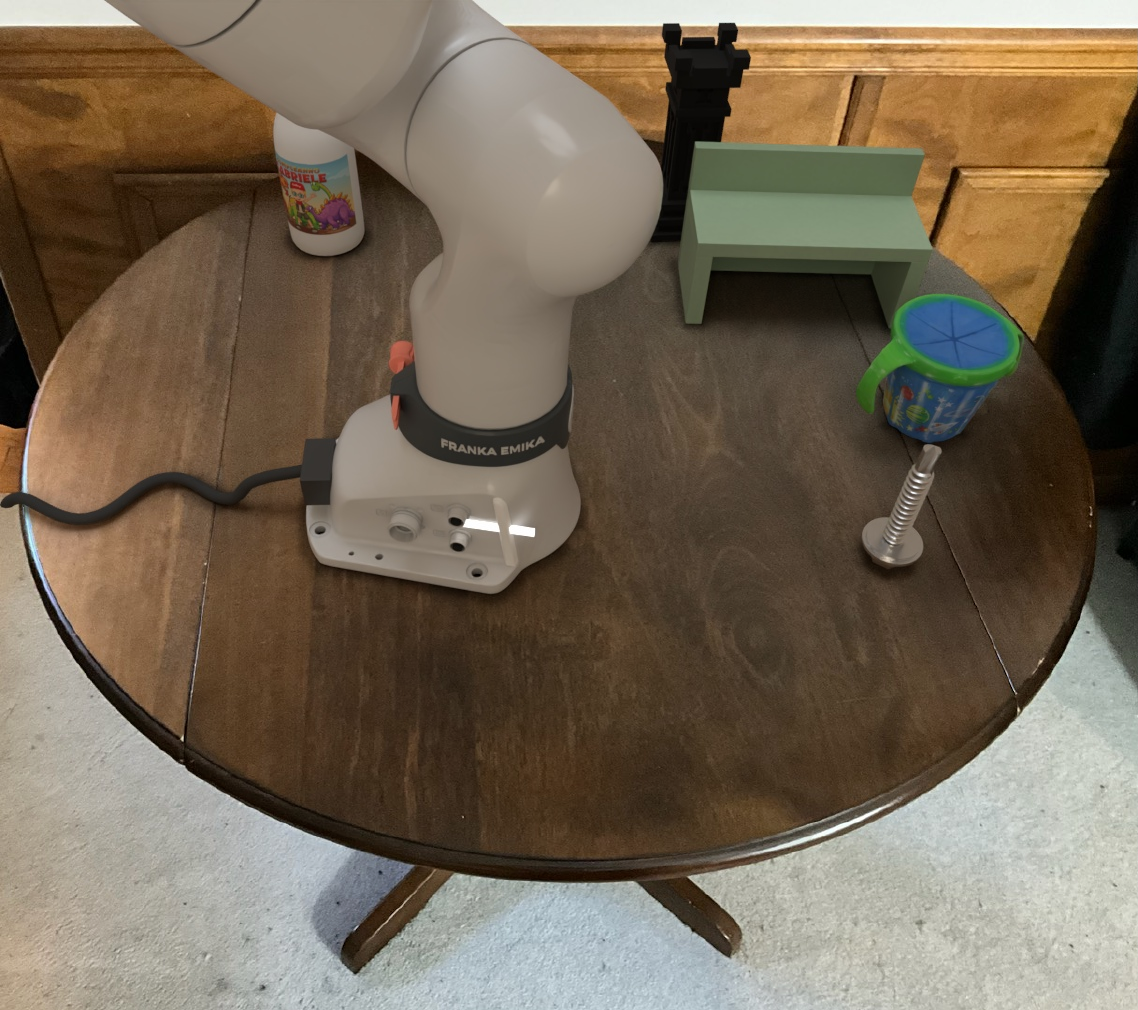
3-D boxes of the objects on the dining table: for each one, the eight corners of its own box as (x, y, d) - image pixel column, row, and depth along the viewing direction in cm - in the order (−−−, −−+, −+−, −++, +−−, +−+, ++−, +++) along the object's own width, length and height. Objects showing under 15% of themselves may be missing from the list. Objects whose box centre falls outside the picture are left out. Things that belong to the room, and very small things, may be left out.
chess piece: (639, 199, 117) (658, 21, 102) (709, 197, 118) (737, 20, 103) (651, 241, 112) (672, 60, 97) (723, 239, 113) (756, 59, 98)
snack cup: (870, 472, 91) (902, 386, 83) (820, 391, 97) (846, 304, 90) (1026, 443, 94) (1072, 358, 86) (968, 367, 101) (1006, 281, 93)
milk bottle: (304, 212, 113) (271, 28, 98) (373, 220, 113) (351, 36, 98) (281, 253, 108) (243, 67, 93) (354, 262, 108) (327, 76, 93)
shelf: (685, 323, 103) (704, 200, 93) (677, 262, 110) (694, 141, 99) (904, 329, 104) (948, 207, 93) (883, 268, 111) (922, 148, 100)
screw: (843, 545, 85) (890, 526, 87) (880, 588, 83) (928, 568, 84) (886, 433, 76) (938, 414, 77) (929, 478, 73) (982, 457, 74)
